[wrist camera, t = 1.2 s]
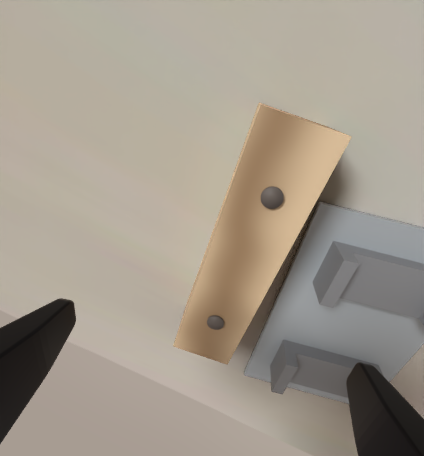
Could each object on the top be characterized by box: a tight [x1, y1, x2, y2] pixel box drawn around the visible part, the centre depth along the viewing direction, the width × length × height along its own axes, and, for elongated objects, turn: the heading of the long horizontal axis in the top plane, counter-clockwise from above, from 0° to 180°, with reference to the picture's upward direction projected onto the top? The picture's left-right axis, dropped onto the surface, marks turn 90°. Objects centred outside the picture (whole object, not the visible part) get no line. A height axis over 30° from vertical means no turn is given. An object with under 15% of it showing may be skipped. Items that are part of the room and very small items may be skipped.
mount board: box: [244, 201, 424, 404], centre depth 22 cm, size 13×20×3 cm, turn 168°
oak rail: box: [173, 103, 351, 364], centre depth 18 cm, size 4×18×5 cm, turn 163°
